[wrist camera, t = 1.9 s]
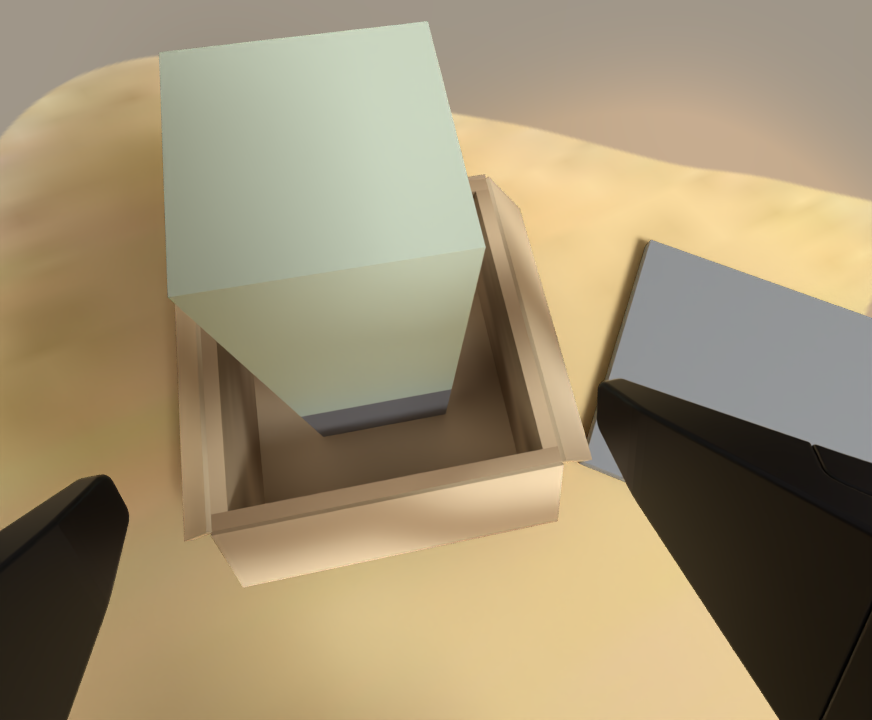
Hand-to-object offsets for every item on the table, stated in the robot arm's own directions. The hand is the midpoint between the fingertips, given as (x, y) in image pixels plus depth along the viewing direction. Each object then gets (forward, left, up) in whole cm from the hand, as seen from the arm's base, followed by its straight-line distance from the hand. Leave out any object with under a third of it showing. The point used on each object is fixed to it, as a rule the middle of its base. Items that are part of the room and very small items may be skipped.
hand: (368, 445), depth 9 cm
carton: (+4, -3, -11) cm, 12 cm away
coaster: (-8, -13, -11) cm, 19 cm away
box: (+4, -3, -11) cm, 12 cm away
